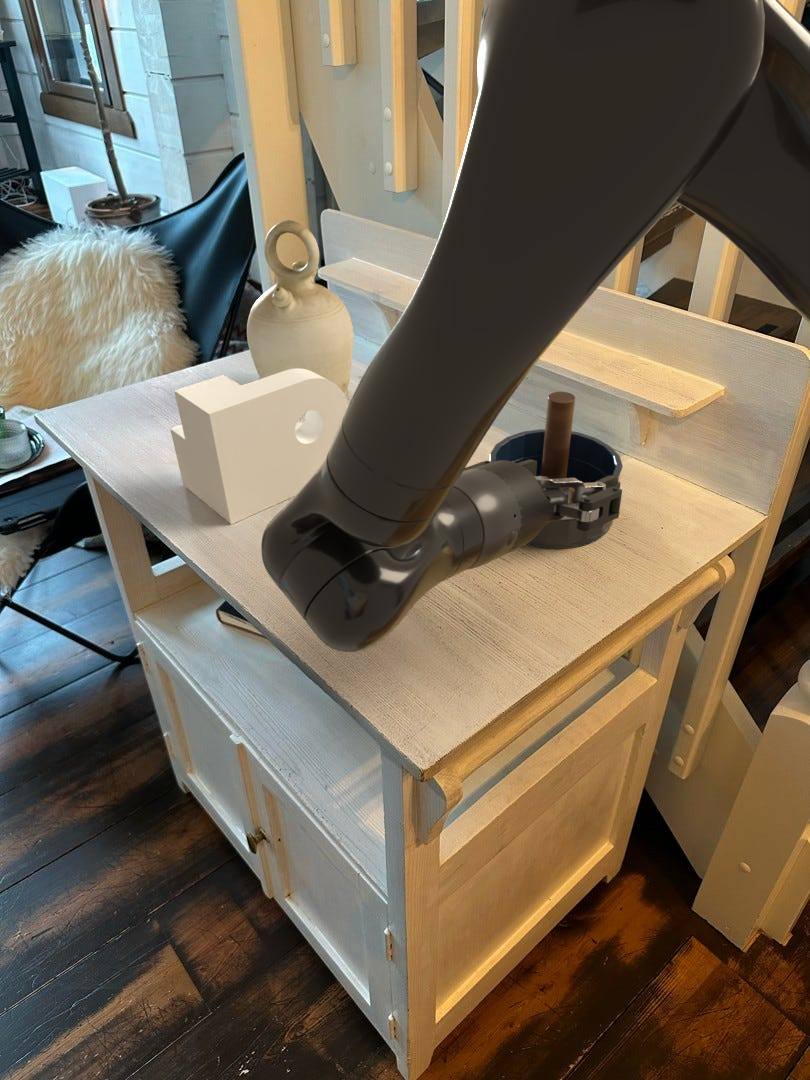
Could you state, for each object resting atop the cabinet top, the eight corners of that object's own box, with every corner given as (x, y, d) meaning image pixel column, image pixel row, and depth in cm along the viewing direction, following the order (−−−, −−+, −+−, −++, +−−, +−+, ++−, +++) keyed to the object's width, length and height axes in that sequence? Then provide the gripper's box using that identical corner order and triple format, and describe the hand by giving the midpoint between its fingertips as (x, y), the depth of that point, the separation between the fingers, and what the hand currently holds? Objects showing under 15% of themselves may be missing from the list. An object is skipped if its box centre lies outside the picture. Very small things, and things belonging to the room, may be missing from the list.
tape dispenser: (231, 524, 88) (209, 414, 80) (183, 484, 95) (158, 380, 87) (354, 469, 97) (345, 365, 89) (301, 437, 104) (289, 338, 96)
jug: (297, 366, 124) (277, 203, 110) (376, 384, 118) (367, 214, 103) (235, 403, 114) (205, 228, 99) (319, 425, 107) (299, 242, 92)
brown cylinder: (578, 507, 88) (592, 396, 79) (560, 523, 85) (572, 410, 77) (541, 493, 90) (551, 384, 82) (522, 508, 88) (530, 397, 80)
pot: (635, 505, 89) (645, 453, 84) (572, 565, 80) (579, 510, 76) (530, 467, 96) (534, 417, 92) (463, 517, 88) (464, 465, 83)
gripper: (563, 487, 55) (649, 452, 67) (410, 454, 64) (511, 428, 76) (553, 582, 58) (637, 531, 70) (408, 538, 66) (505, 500, 78)
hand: (572, 477), depth 73 cm, fingers open, 8 cm apart
